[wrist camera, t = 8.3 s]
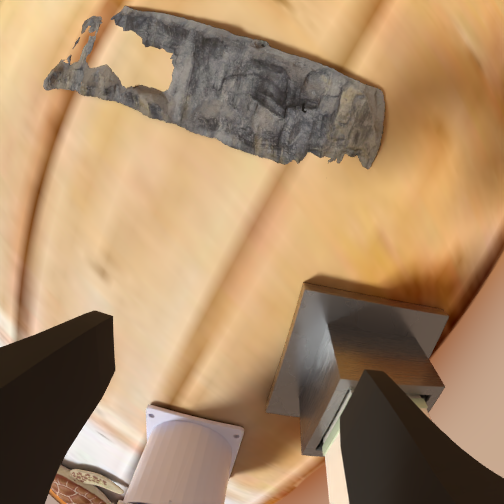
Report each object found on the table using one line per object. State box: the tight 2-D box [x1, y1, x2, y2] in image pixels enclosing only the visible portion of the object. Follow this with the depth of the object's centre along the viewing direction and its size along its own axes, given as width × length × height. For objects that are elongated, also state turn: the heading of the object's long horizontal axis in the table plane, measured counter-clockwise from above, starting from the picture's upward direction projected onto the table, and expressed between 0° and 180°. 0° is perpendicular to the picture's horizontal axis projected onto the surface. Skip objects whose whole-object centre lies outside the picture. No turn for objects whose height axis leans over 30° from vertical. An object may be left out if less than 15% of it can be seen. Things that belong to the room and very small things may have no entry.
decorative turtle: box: [51, 465, 124, 504], centre depth 28 cm, size 18×17×5 cm
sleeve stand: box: [266, 282, 449, 457], centre depth 17 cm, size 10×10×6 cm
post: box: [322, 390, 432, 504], centre depth 12 cm, size 4×4×8 cm
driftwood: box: [43, 6, 385, 169], centre depth 15 cm, size 21×7×2 cm, turn 66°
